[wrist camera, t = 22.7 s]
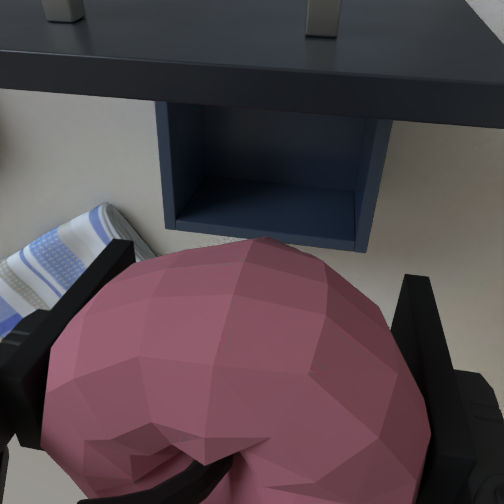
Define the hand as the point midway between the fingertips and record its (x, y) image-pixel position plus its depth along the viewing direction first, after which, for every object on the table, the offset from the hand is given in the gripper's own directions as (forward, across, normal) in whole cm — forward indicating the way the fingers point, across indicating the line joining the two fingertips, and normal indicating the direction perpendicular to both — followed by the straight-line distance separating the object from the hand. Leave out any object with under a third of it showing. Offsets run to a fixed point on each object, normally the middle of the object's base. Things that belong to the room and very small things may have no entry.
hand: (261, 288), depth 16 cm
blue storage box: (+21, -2, +2) cm, 22 cm away
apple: (+1, 0, 0) cm, 1 cm away
